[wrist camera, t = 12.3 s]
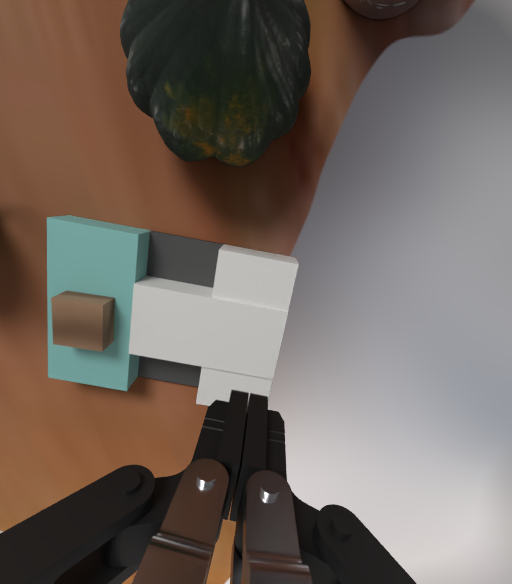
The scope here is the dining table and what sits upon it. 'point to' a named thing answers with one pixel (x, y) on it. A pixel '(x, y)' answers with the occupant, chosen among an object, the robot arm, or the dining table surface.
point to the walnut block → (83, 320)
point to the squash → (217, 72)
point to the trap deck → (171, 308)
